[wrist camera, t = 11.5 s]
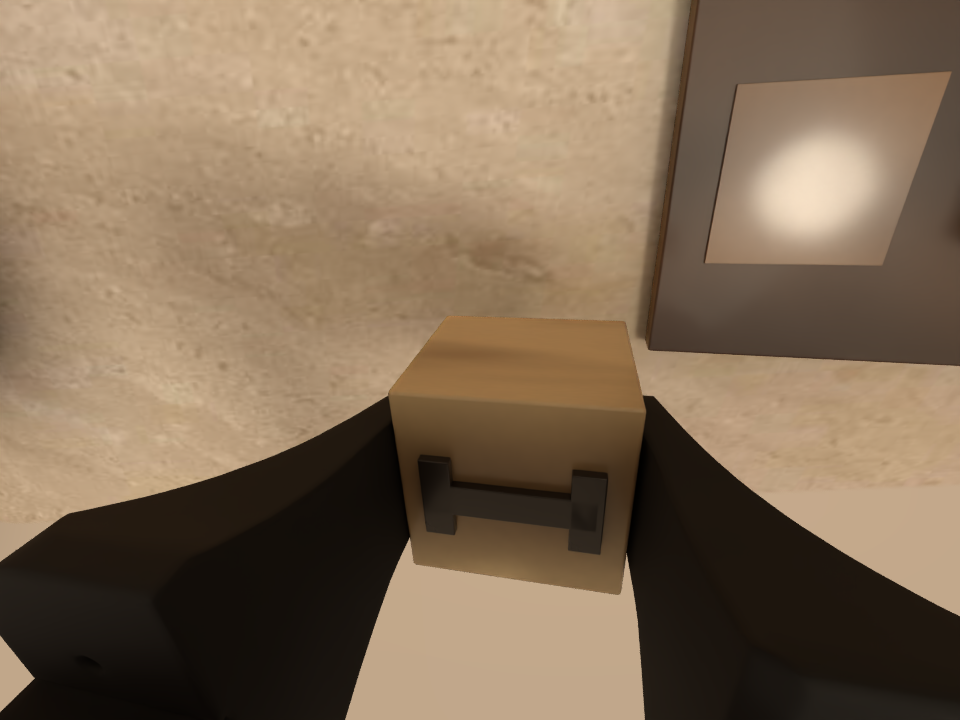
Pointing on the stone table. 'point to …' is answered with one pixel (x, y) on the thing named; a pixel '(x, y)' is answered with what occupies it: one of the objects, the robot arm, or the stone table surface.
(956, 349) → the word board
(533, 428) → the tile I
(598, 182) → the stone table surface
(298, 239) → the stone table surface
